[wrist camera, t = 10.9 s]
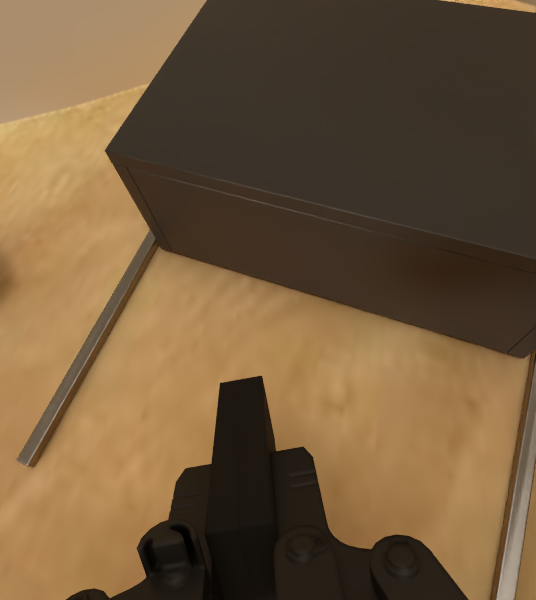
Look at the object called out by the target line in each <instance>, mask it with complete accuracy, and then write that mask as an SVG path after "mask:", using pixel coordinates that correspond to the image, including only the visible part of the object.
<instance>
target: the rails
mask: <svg viewBox="0 0 536 600" xmlns="http://www.w3.org/2000/svg"><path fill="white" fill-rule="evenodd" d="M158 245H159V244H158V242H157V240H156V238H155V237H154V235H153V233H152V232H151V230H150V231H149V232H148V234H147V236H146V237H145V239H144V241H143V243H142V244H141V246H140V248H139V250H138V251H137V253H136V255H135V256H134V258H133V260H132V262H131V263H130V265H129V267H128V269H127V270H126V272H125V274H124V275H123V277H122V279H121V281H120V282H119V284H118V286H117V288H116V289H115V291H114V293H113V294H112V296H111V298H110V300H109V301H108V303H107V305H106V307H105V308H104V310H103V312H102V313H101V315H100V317H99V319H98V320H97V322H96V324H95V326H94V327H93V329H92V331H91V332H90V334H89V336H88V338H87V339H86V341H85V343H84V344H83V346H82V348H81V350H80V351H79V353H78V355H77V357H76V358H75V360H74V362H73V363H72V365H71V367H70V369H69V370H68V372H67V374H66V376H65V377H64V379H63V381H62V382H61V384H60V386H59V388H58V389H57V391H56V393H55V395H54V396H53V398H52V400H51V401H50V403H49V405H48V407H47V408H46V410H45V412H44V414H43V415H42V417H41V419H40V420H39V422H38V424H37V426H36V427H35V429H34V431H33V433H32V434H31V436H30V438H29V439H28V441H27V443H26V445H25V446H24V448H23V450H22V452H21V453H20V455H19V457H18V458H17V461H18V462H20V463H22V464H24V465H26V466H30V467H34V466H35V464H36V462H37V461H38V459H39V457H40V455H41V453H42V452H43V450H44V448H45V446H46V445H47V443H48V441H49V439H50V437H51V436H52V434H53V432H54V430H55V428H56V427H57V425H58V423H59V421H60V420H61V418H62V416H63V414H64V412H65V411H66V409H67V407H68V405H69V404H70V402H71V400H72V398H73V396H74V395H75V393H76V391H77V389H78V388H79V386H80V384H81V382H82V380H83V379H84V377H85V375H86V373H87V372H88V370H89V368H90V366H91V364H92V363H93V361H94V359H95V357H96V355H97V354H98V352H99V350H100V348H101V347H102V345H103V343H104V341H105V339H106V338H107V336H108V334H109V332H110V331H111V329H112V327H113V325H114V323H115V322H116V320H117V318H118V316H119V315H120V313H121V311H122V309H123V307H124V306H125V304H126V302H127V300H128V299H129V297H130V295H131V293H132V291H133V290H134V288H135V286H136V284H137V282H138V281H139V279H140V277H141V275H142V274H143V272H144V270H145V268H146V266H147V265H148V263H149V261H150V259H151V258H152V256H153V254H154V252H155V250H156V249H157V247H158ZM535 463H536V349H535V350H534V351H533V352H532V356H531V362H530V368H529V374H528V380H527V385H526V391H525V397H524V403H523V409H522V415H521V421H520V427H519V433H518V439H517V445H516V451H515V457H514V463H513V469H512V475H511V481H510V487H509V493H508V499H507V505H506V511H505V517H504V523H503V529H502V535H501V541H500V546H499V552H498V558H497V564H496V570H495V576H494V582H493V588H492V594H491V600H515V597H516V590H517V584H518V577H519V570H520V564H521V557H522V550H523V544H524V537H525V530H526V524H527V517H528V510H529V504H530V497H531V490H532V483H533V477H534V470H535Z"/></svg>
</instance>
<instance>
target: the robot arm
mask: <svg viewBox="0 0 536 600" xmlns="http://www.w3.org/2000/svg"><path fill="white" fill-rule="evenodd" d="M137 550H138V553H139V556H140V559H141V561H142V564H143V567H144V570H145V573H146V576H147V577H146V579H144V580H143V581H142V582H141V583H139V584H138V585H136V586H134V587H132V588H131V589H129V590H126V591H124V592H122V593H120V594H118V595H116V596H114V597H112V598H109V597H108V596H107V595H106V594H105V592H104V591H101V590H98V589H88V590H83V591H80V592H78V593H76V594H74V595H72V596H70V597H69V598H68V599H66V600H468V598H467V597H466V596H465V595H464V593H463V592H462V591H461V589H460V588H459V587H458V586H457V584H456V583H455V582H454V580H453V579H452V578H451V577H450V575H449V574H448V573H447V571H446V570H445V569H444V568H443V566H442V565H441V564H440V562H439V561H438V560H437V559H436V557H435V556H434V555H433V553H432V552H431V551H430V550H429V549H428V548H427V547H426V546H425V545H424V544H423V543H422V542H421V541H419V540H417V539H414V538H412V537H410V536H404V535H392V536H387V537H384V538H383V539H381V540H380V541H378V542H376V543H375V545H374V546H373V548H372V549H363V548H356V547H352V546H348V545H346V544H344V543H342V542H340V541H339V540H338V539H337V538H335V537H334V536H333V534H332V533H331V532H330V530H329V527H328V525H327V521H326V516H325V511H324V507H323V502H322V497H321V493H320V488H319V484H318V479H317V474H316V470H315V465H314V460H313V457H312V456H311V454H310V453H309V452H308V451H307V450H306V449H305V448H304V447H299V448H293V449H287V450H282V451H276V447H275V439H274V434H273V429H272V424H271V419H270V414H269V409H268V403H267V398H266V393H265V388H264V383H263V378H262V376H258V377H252V378H246V379H241V380H235V381H229V382H224V383H220V389H219V398H218V408H217V417H216V427H215V436H214V446H213V455H212V464H208V465H203V466H197V467H191V468H186V469H185V470H184V471H183V473H182V474H181V476H180V477H179V479H178V480H177V481H176V485H175V490H174V495H173V500H172V504H171V511H170V514H169V519H168V520H167V521H164V522H161V523H159V524H157V525H156V526H154V527H153V528H151V529H150V530H149V531H148V532H147V533H146V534H145V535H144V536H143V537H142V538H141V540H140V543H139V545H138V547H137Z"/></svg>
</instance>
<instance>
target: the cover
mask: <svg viewBox="0 0 536 600" xmlns="http://www.w3.org/2000/svg"><path fill="white" fill-rule="evenodd" d="M105 152H106V154H107V155H108V157H109V159H110V161H111V162H112V163H113V165H114V167H115V169H116V171H117V172H118V174H119V176H120V178H121V179H122V181H123V183H124V185H125V186H126V188H127V190H128V192H129V193H130V195H131V197H132V198H133V200H134V202H135V204H136V205H137V207H138V209H139V211H140V212H141V214H142V216H143V218H144V219H145V221H146V223H147V225H148V226H149V228H150V230H151V232H152V233H153V235H154V237H155V238H156V240H157V242H158V244H159V245H160V247H161V248H162V249H165V250H168V251H171V252H172V251H173V252H175V253H178V254H181V255H185V256H188V257H191V258H195V259H198V260H201V261H205V262H208V263H211V264H214V265H218V266H221V267H224V268H228V269H231V270H234V271H238V272H241V273H244V274H247V275H251V276H254V277H257V278H261V279H264V280H267V281H271V282H274V283H277V284H280V285H284V286H287V287H290V288H294V289H297V290H300V291H304V292H307V293H310V294H313V295H317V296H320V297H323V298H327V299H330V300H333V301H337V302H340V303H343V304H346V305H350V306H353V307H356V308H360V309H363V310H366V311H370V312H373V313H376V314H379V315H383V316H386V317H389V318H393V319H396V320H399V321H403V322H406V323H409V324H412V325H416V326H419V327H422V328H426V329H429V330H432V331H436V332H439V333H442V334H445V335H449V336H452V337H455V338H459V339H462V340H465V341H469V342H472V343H475V344H478V345H482V346H485V347H488V348H492V349H495V350H498V351H502V352H505V353H506V352H507V354H510V355H514V356H517V357H520V358H525V357H526V356H528V355H529V354H530V353H531V352H533V351H534V350H535V349H536V13H532V12H525V11H517V10H509V9H502V8H494V7H486V6H479V5H471V4H463V3H456V2H448V1H440V0H207V1H206V3H205V4H204V5H203V7H202V8H201V10H200V11H199V13H198V14H197V16H196V17H195V19H194V20H193V22H192V23H191V24H190V26H189V27H188V29H187V30H186V32H185V33H184V35H183V36H182V38H181V39H180V41H179V42H178V44H177V45H176V47H175V48H174V50H173V51H172V52H171V54H170V56H169V57H168V58H167V60H166V61H165V63H164V64H163V66H162V67H161V69H160V70H159V72H158V73H157V74H156V76H155V77H154V79H153V80H152V82H151V83H150V85H149V86H148V88H147V89H146V91H145V92H144V94H143V95H142V97H141V98H140V99H139V101H138V102H137V104H136V105H135V107H134V108H133V110H132V111H131V113H130V114H129V116H128V117H127V119H126V120H125V121H124V123H123V124H122V126H121V127H120V129H119V130H118V132H117V133H116V135H115V136H114V138H113V139H112V141H111V142H110V144H109V145H108V146H107V148H106V149H105Z"/></svg>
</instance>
